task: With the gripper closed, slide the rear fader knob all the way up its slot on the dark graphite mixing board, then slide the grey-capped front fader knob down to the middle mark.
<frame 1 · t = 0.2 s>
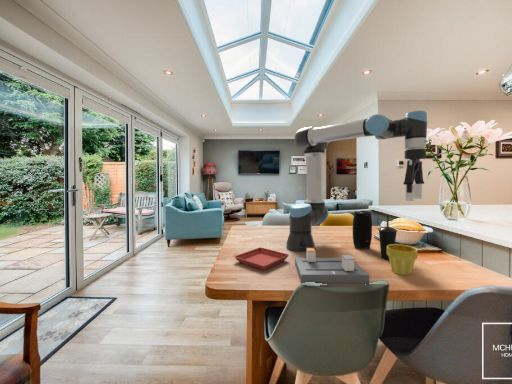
hand: (413, 199, 100), 28 cm above the table, tool pointing down, fingers open, 13 cm apart
black bottle: (387, 258, 108), on the table
plant pot: (401, 272, 93), on the table
portable speaker: (361, 248, 125), on the table
fader front: (347, 262, 88), point 6 cm above the table, slide at 14.0 cm
plant saucer: (261, 262, 107), on the table
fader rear: (310, 254, 97), point 6 cm above the table, slide at 2.0 cm
fader board: (328, 272, 93), on the table
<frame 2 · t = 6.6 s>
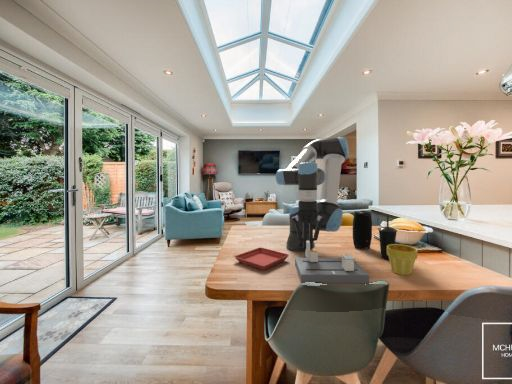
hand: (307, 256, 97), 5 cm above the table, tool pointing down, fingers closed
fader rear: (313, 254, 97), point 6 cm above the table, slide at 3.0 cm, touching gripper
everything else where it was.
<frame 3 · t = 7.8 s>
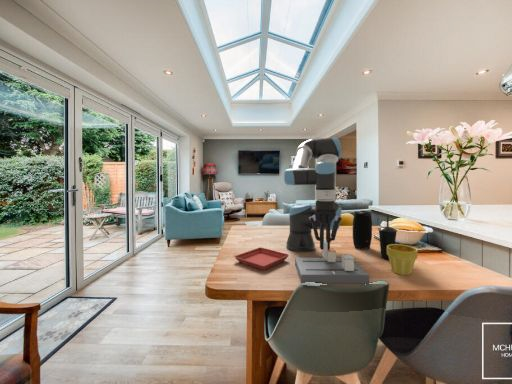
hand: (324, 256, 97), 5 cm above the table, tool pointing down, fingers closed
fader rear: (330, 254, 97), point 6 cm above the table, slide at 10.0 cm, touching gripper
everything else where it was.
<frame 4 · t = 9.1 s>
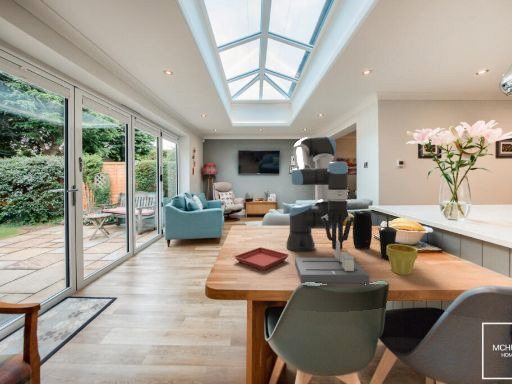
hand: (337, 257, 97), 5 cm above the table, tool pointing down, fingers closed
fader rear: (342, 255, 97), point 6 cm above the table, slide at 15.0 cm, touching gripper
everything else where it was.
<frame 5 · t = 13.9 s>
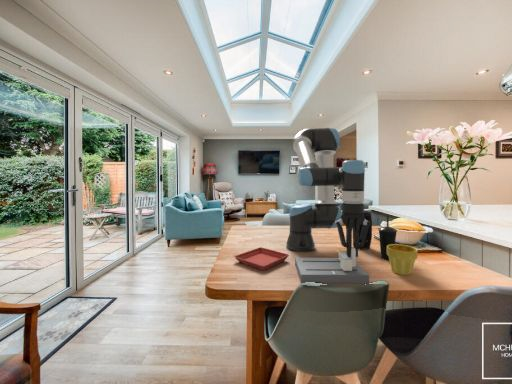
hand: (352, 265, 88), 5 cm above the table, tool pointing down, fingers closed
fader front: (346, 262, 88), point 6 cm above the table, slide at 13.3 cm, touching gripper
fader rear: (343, 255, 96), point 6 cm above the table, slide at 15.4 cm
everything else where it was.
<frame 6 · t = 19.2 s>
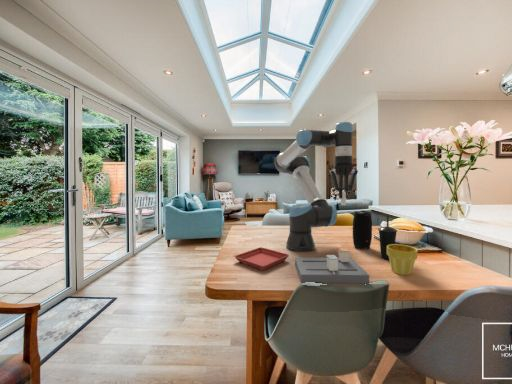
hand: (343, 205, 113), 24 cm above the table, tool pointing down, fingers closed
fader front: (332, 262, 88), point 6 cm above the table, slide at 8.2 cm
everything else where it was.
at the end: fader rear slide at 15.4 cm; fader front slide at 8.2 cm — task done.
